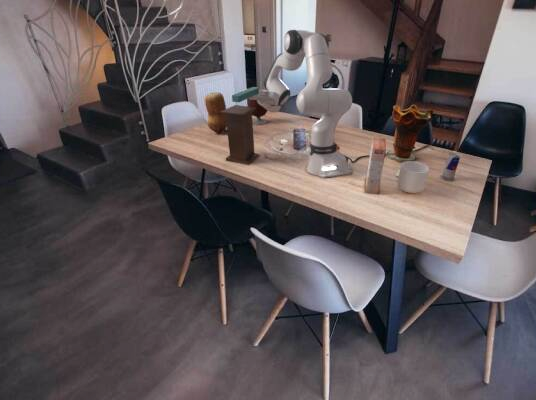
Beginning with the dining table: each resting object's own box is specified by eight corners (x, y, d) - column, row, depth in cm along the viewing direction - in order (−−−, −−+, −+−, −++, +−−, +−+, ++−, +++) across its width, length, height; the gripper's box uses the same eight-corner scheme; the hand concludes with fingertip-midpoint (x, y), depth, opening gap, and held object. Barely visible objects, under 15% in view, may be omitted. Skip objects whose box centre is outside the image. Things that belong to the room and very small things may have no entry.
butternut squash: (207, 130, 202) (201, 90, 189) (227, 128, 207) (223, 89, 194) (211, 137, 192) (205, 95, 179) (232, 134, 197) (228, 94, 184)
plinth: (238, 151, 172) (234, 104, 159) (259, 155, 169) (257, 107, 155) (225, 161, 161) (219, 111, 148) (247, 165, 157) (243, 114, 144)
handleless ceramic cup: (413, 198, 133) (419, 174, 127) (390, 187, 140) (395, 165, 135) (428, 190, 139) (434, 167, 134) (405, 180, 147) (410, 159, 142)
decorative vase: (428, 155, 175) (441, 105, 160) (409, 167, 160) (421, 113, 146) (395, 145, 187) (404, 98, 172) (375, 156, 172) (383, 105, 158)
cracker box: (379, 194, 135) (386, 149, 124) (365, 192, 136) (371, 148, 125) (378, 179, 147) (386, 137, 136) (366, 178, 148) (372, 136, 137)
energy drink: (452, 181, 147) (459, 158, 141) (440, 178, 150) (447, 155, 144) (454, 177, 151) (461, 154, 145) (442, 174, 154) (449, 152, 148)
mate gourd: (246, 124, 216) (244, 94, 206) (252, 118, 228) (250, 90, 217) (267, 125, 214) (266, 96, 204) (272, 120, 226) (272, 91, 215)
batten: (253, 92, 166) (253, 86, 164) (259, 93, 165) (259, 87, 163) (232, 101, 148) (231, 95, 147) (238, 102, 147) (238, 96, 146)
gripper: (249, 91, 178) (238, 82, 165) (282, 94, 173) (272, 85, 159) (247, 102, 179) (235, 94, 165) (280, 106, 173) (270, 98, 160)
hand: (254, 90), depth 162 cm, fingers closed on batten, 3 cm apart
